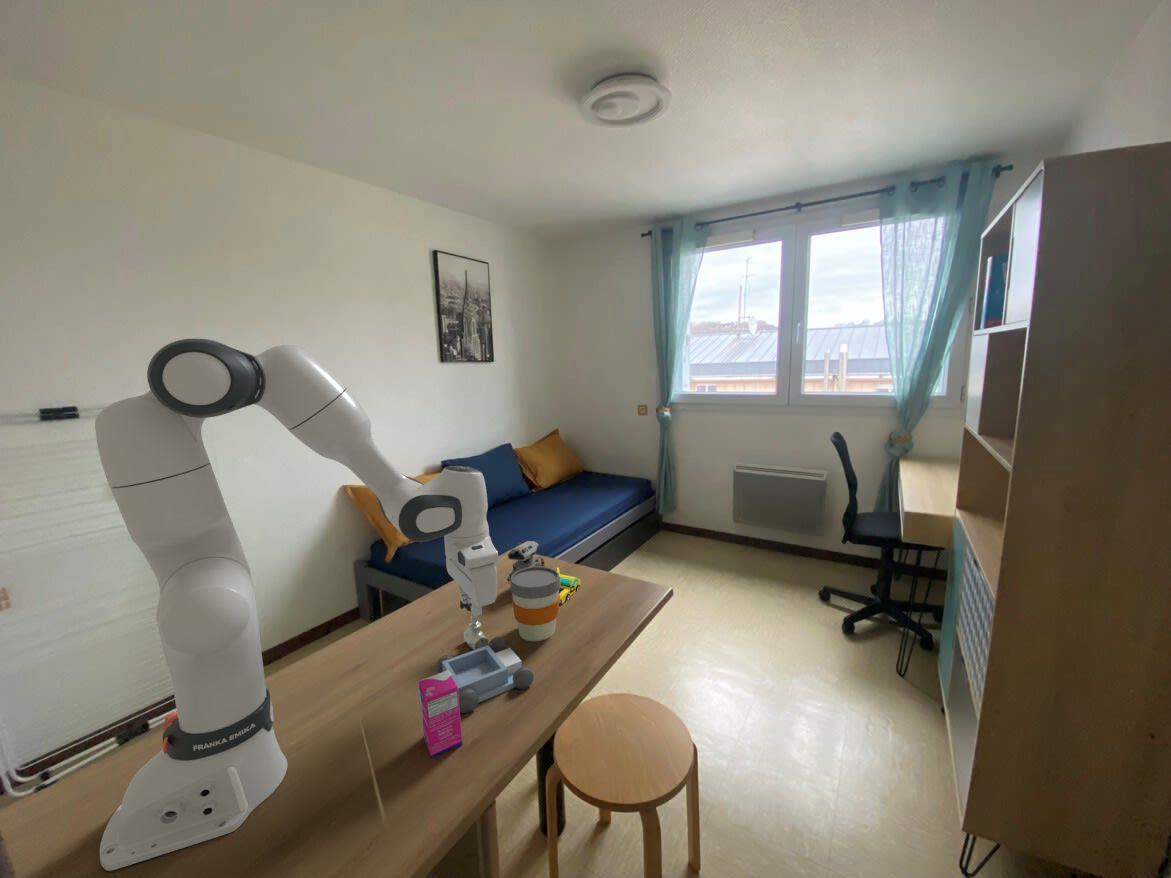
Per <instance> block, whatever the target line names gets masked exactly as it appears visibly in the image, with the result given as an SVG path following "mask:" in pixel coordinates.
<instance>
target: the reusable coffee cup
mask: <svg viewBox="0 0 1171 878" xmlns="http://www.w3.org/2000/svg"><path fill="white" fill-rule="evenodd" d="M559 573H560V572H559ZM559 573H558V572H557V570H556V569H554V568H552V567H549V566H548V567H547V566H545V567H528V568H524V569H521V570H518V571H517V572H515V573H514V574H513V575H512V576H511V581H510V582H509V586H510V587H509V590H510V592H511V596H512V597H511V603H512V604H511V606H512V609H513V610H512V611H513V615H514V619H515V620H516V623H517V627H518V629H517V630H518V633H519V636H520V638H522V639H523V640H525V641H529V642H541V641H544V640H547V639H550V638H551V637H552V636H553V635H554V634H555V631H556V625H557V624H556V623H557V617H558V615H559V609H560V603H559V601H560V595H559V589H560V587H561V584H560V577H559Z"/></svg>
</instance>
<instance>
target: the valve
mask: <svg viewBox="0 0 1171 878" xmlns="http://www.w3.org/2000/svg"><path fill="white" fill-rule="evenodd" d="M471 606H472V600H471V602H470V603H466V604H463V602H462V601H461V598H460V600H459V608H460V609H461V610H463V609H466V611H467V612H470V614H469V616H470V617H469V618H470V619H469V620H470V621H471V622H470V623H469V624H468V627H467V628H466V629H464V631H463V640H464V641H465V642H466V644H467V645H468V646H469V648H471V649H472V651H474V650H476V649H479V648H482V647H485V646H488V645H489V639H488V638H487V636H486V635H485V634H484V632H483V631H482V623H481V622H480V621H479V617H480V616H473V614H472V613H471Z"/></svg>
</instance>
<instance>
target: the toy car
mask: <svg viewBox="0 0 1171 878" xmlns="http://www.w3.org/2000/svg"><path fill="white" fill-rule="evenodd" d="M556 569H557V570H556V571H557V572H558V573H559V577H560V584H561V587H560V589H559V595H560V601H559V604H564V603H565V601H567V600H568V601H569V600H570V599H571V597H572V595H574V594H575V593H576V591H575V590H577V589H578V588H579V587H580V588H581V585H582V583H581V582H582V580H581V579H580V578H579V577H575V576H570V575H567V574H566V575H565V574H560V573H561V572H560V567H557V568H556ZM580 588H579V589H580ZM569 598H570V599H569ZM568 601H567V602H568Z"/></svg>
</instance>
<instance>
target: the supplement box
mask: <svg viewBox="0 0 1171 878" xmlns="http://www.w3.org/2000/svg"><path fill="white" fill-rule="evenodd" d="M417 685H418V686H417V687H418V697H419V707H420V709H419V710H420V719H421V726H422V728H421V729H422V737H423V739H424V743H425V744H426V747H427V749H428V752H429V755H430V758H434V757H436V756H438V755H441V754H443V753H445V752H447V751H449V750H452V749H454V748H456V747H458V746H462V745H463V744H464V743H463V732H462V731H463V730H462V721H461V720H462V719H461V711H460V707H459V695H458V686H457V684H456V682H455V680H454V678H453V677H452V675H451V673H450V671H449V670H446V671H444V672H441V673H437V674H434V675H432V676H429V677H426V678H423V679H420V680H418V681H417Z"/></svg>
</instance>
